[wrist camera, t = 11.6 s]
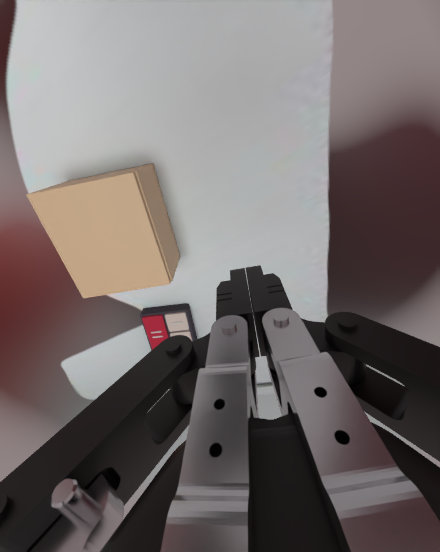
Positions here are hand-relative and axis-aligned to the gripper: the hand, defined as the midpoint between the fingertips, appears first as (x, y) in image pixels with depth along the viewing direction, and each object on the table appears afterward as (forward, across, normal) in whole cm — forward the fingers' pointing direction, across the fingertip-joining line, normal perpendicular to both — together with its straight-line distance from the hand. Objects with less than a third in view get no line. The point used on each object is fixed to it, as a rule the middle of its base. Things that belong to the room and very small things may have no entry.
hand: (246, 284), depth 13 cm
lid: (+27, +20, +5) cm, 34 cm away
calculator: (+38, +19, +33) cm, 54 cm away
